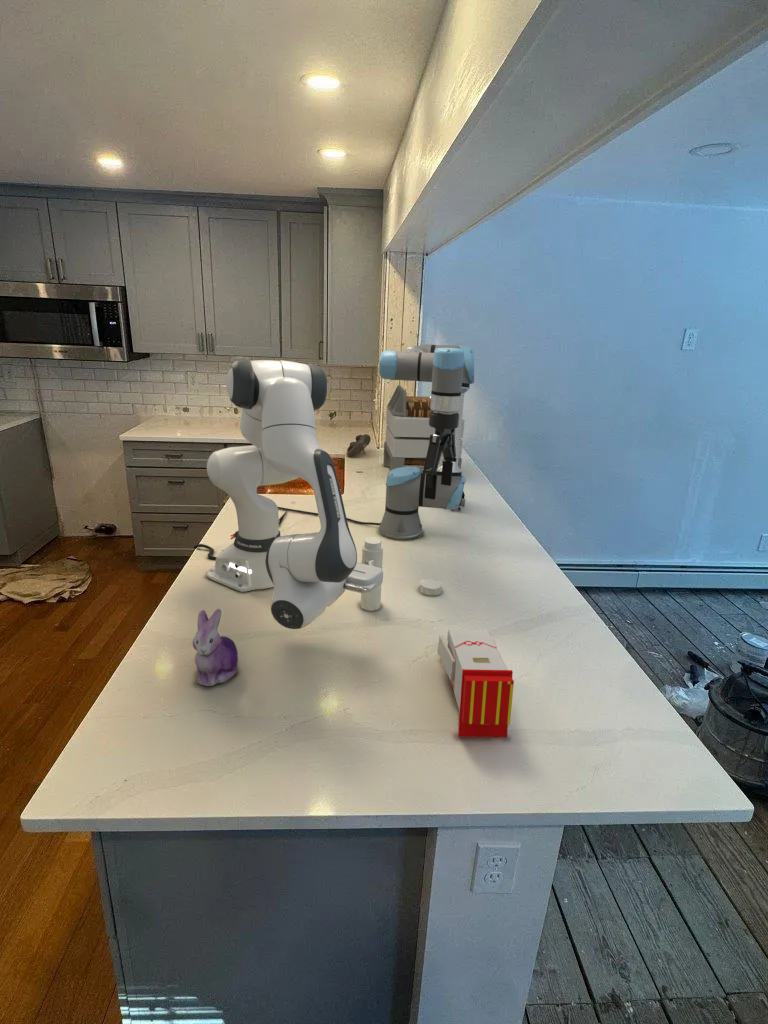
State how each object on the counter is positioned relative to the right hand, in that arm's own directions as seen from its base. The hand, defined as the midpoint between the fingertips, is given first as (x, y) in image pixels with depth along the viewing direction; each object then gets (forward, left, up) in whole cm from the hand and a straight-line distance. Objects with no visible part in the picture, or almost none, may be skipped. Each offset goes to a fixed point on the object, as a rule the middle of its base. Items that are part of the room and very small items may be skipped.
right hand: (438, 491), depth 151 cm
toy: (+37, -26, -29) cm, 54 cm away
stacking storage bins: (-90, +82, -29) cm, 125 cm away
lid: (0, 0, -28) cm, 28 cm away
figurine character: (-46, +60, -29) cm, 81 cm away
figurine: (0, -64, -29) cm, 71 cm away
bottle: (-3, -19, -29) cm, 35 cm away
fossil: (-136, +81, -29) cm, 161 cm away
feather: (-76, -1, -29) cm, 81 cm away
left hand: (+2, -30, -11) cm, 32 cm away
